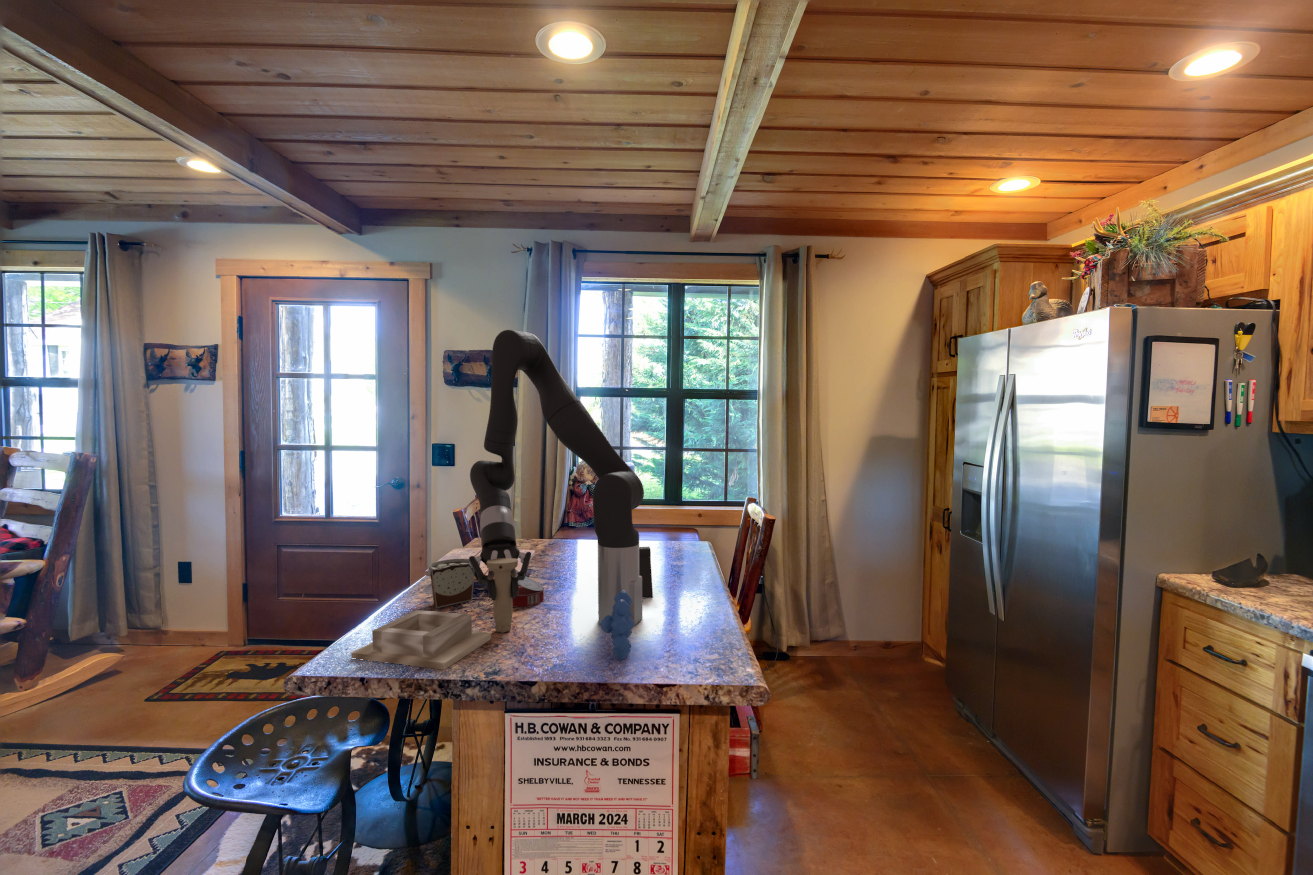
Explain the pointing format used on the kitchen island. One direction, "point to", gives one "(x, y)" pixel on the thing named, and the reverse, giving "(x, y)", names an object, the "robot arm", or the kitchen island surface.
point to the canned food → (528, 593)
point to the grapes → (620, 624)
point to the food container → (451, 582)
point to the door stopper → (645, 571)
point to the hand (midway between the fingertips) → (503, 597)
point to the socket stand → (424, 640)
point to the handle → (502, 592)
